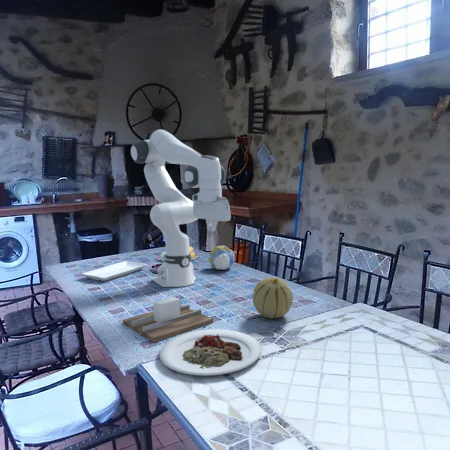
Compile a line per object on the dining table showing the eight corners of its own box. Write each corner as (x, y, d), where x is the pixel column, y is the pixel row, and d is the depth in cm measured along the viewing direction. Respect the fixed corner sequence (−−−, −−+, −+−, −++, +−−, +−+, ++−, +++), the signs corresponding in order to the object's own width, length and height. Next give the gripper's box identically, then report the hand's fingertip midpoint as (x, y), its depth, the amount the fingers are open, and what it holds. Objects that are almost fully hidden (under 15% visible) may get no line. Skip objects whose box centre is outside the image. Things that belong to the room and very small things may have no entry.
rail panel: (122, 324, 151) (122, 316, 151) (178, 307, 166) (178, 300, 166) (154, 342, 134) (153, 333, 134) (213, 322, 150) (212, 314, 149)
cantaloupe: (270, 307, 164) (269, 269, 161) (301, 316, 153) (301, 276, 151) (244, 317, 153) (243, 277, 151) (275, 327, 143) (275, 285, 141)
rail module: (154, 320, 149) (153, 301, 148) (174, 314, 155) (173, 296, 154) (161, 323, 146) (160, 304, 145) (181, 317, 151) (180, 298, 150)
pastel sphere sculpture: (203, 256, 259) (203, 241, 258) (187, 265, 237) (186, 249, 236) (167, 254, 268) (167, 240, 267) (148, 262, 246) (147, 247, 245)
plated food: (188, 393, 105) (188, 380, 104) (144, 350, 130) (143, 339, 129) (282, 360, 120) (282, 349, 120) (226, 327, 145) (226, 318, 145)
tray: (148, 269, 230) (148, 263, 230) (103, 284, 204) (103, 277, 204) (126, 266, 239) (126, 260, 239) (81, 280, 213) (80, 273, 213)
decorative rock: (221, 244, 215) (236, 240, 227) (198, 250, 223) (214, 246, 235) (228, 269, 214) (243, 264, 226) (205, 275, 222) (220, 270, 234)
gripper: (234, 196, 162) (235, 232, 164) (201, 195, 177) (203, 227, 179) (221, 198, 158) (222, 234, 160) (189, 196, 173) (191, 229, 175)
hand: (212, 230), depth 170 cm, fingers closed
